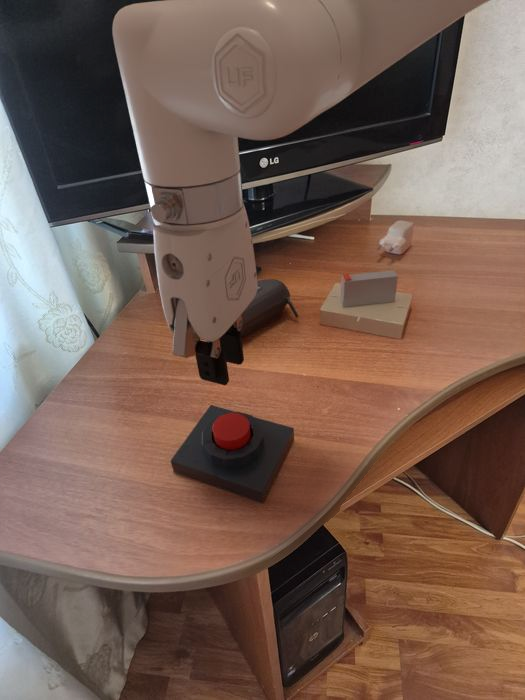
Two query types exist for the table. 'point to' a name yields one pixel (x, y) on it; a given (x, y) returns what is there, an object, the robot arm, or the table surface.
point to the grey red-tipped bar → (368, 288)
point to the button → (231, 431)
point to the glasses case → (265, 306)
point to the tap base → (367, 315)
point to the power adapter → (398, 237)
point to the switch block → (235, 456)
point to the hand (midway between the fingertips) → (222, 369)
